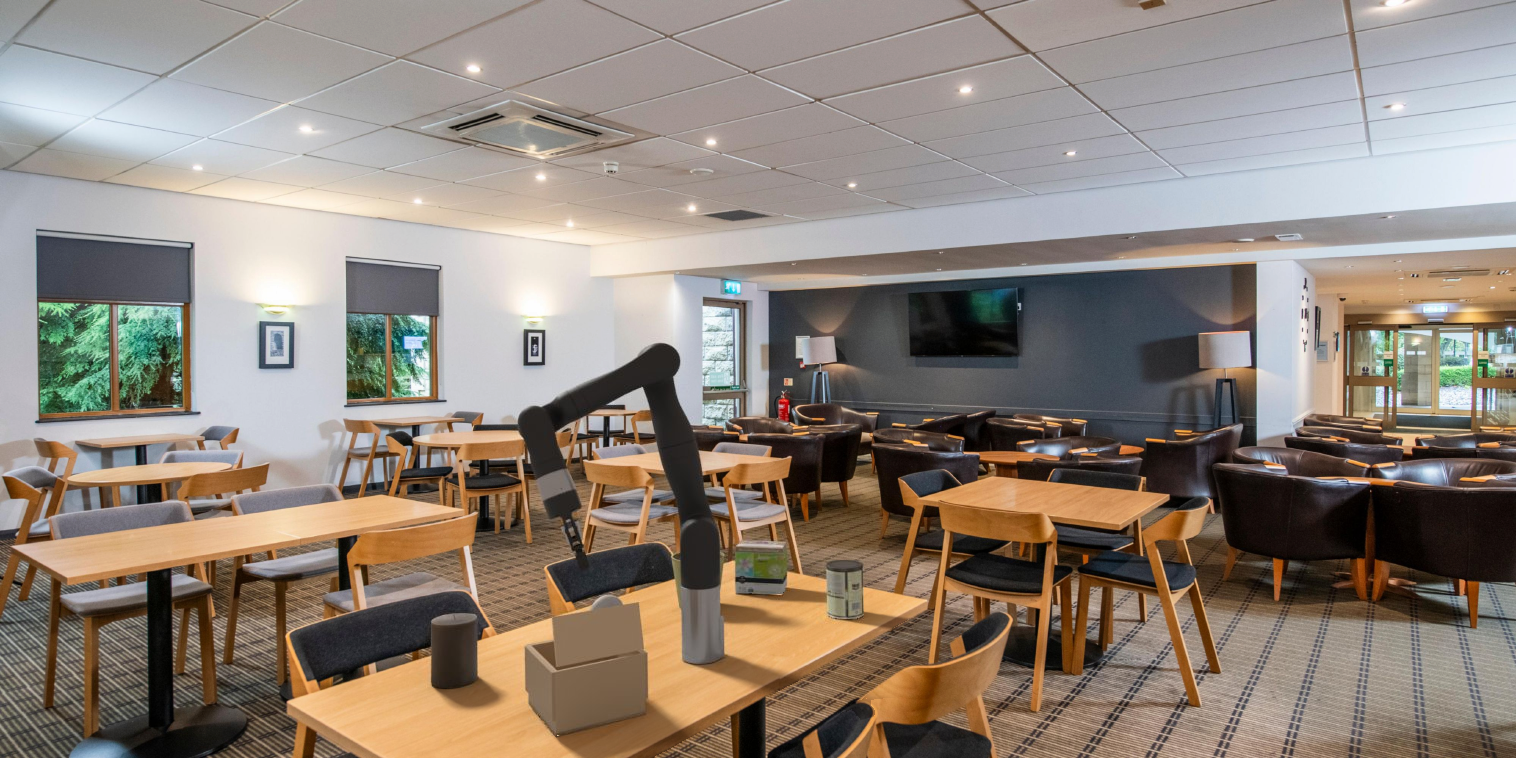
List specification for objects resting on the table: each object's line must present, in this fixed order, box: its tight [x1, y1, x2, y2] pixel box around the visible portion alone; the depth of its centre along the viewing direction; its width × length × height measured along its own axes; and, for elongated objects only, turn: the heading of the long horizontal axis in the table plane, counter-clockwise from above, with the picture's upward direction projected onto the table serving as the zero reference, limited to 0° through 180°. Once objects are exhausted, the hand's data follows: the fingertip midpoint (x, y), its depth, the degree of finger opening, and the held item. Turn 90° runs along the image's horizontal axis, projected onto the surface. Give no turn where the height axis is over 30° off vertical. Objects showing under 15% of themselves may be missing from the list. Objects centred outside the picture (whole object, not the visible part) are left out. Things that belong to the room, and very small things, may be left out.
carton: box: [524, 638, 649, 737], centre depth 161 cm, size 19×19×12 cm
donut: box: [589, 594, 624, 611], centre depth 209 cm, size 10×3×10 cm, turn 129°
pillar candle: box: [430, 612, 479, 689], centre depth 178 cm, size 10×10×15 cm
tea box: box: [734, 539, 788, 595], centre depth 248 cm, size 15×10×15 cm, turn 80°
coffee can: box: [825, 559, 865, 620], centre depth 222 cm, size 10×10×14 cm
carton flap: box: [551, 601, 645, 667], centre depth 154 cm, size 17×9×1 cm
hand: (585, 569), depth 173 cm, fingers closed
